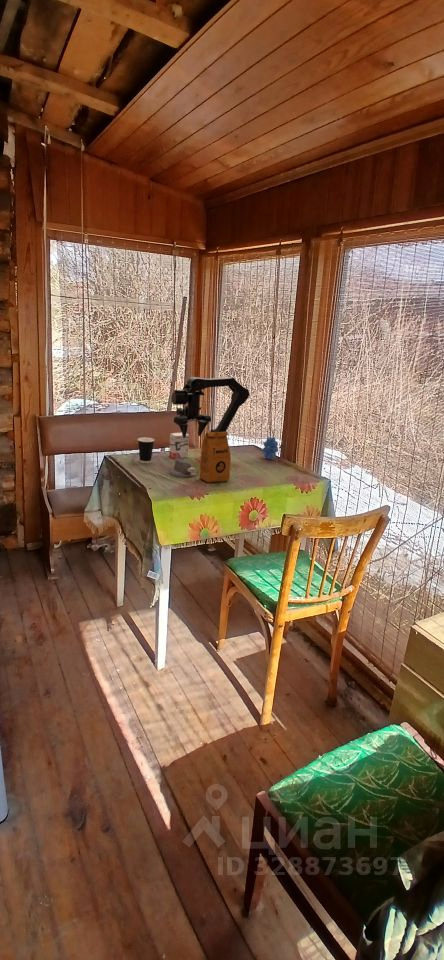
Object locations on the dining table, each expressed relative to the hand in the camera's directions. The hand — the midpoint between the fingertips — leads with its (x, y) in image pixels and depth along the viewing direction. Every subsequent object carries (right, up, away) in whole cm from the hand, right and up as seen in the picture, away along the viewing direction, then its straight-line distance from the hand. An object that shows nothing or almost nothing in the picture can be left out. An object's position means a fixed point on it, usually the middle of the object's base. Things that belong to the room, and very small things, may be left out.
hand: (191, 436), depth 265 cm
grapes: (+40, -10, +21) cm, 46 cm away
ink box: (-7, -9, +14) cm, 18 cm away
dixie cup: (-22, -12, +1) cm, 25 cm away
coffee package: (+11, -21, -20) cm, 31 cm away
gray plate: (-3, -18, -14) cm, 22 cm away
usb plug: (-3, -17, -15) cm, 23 cm away
